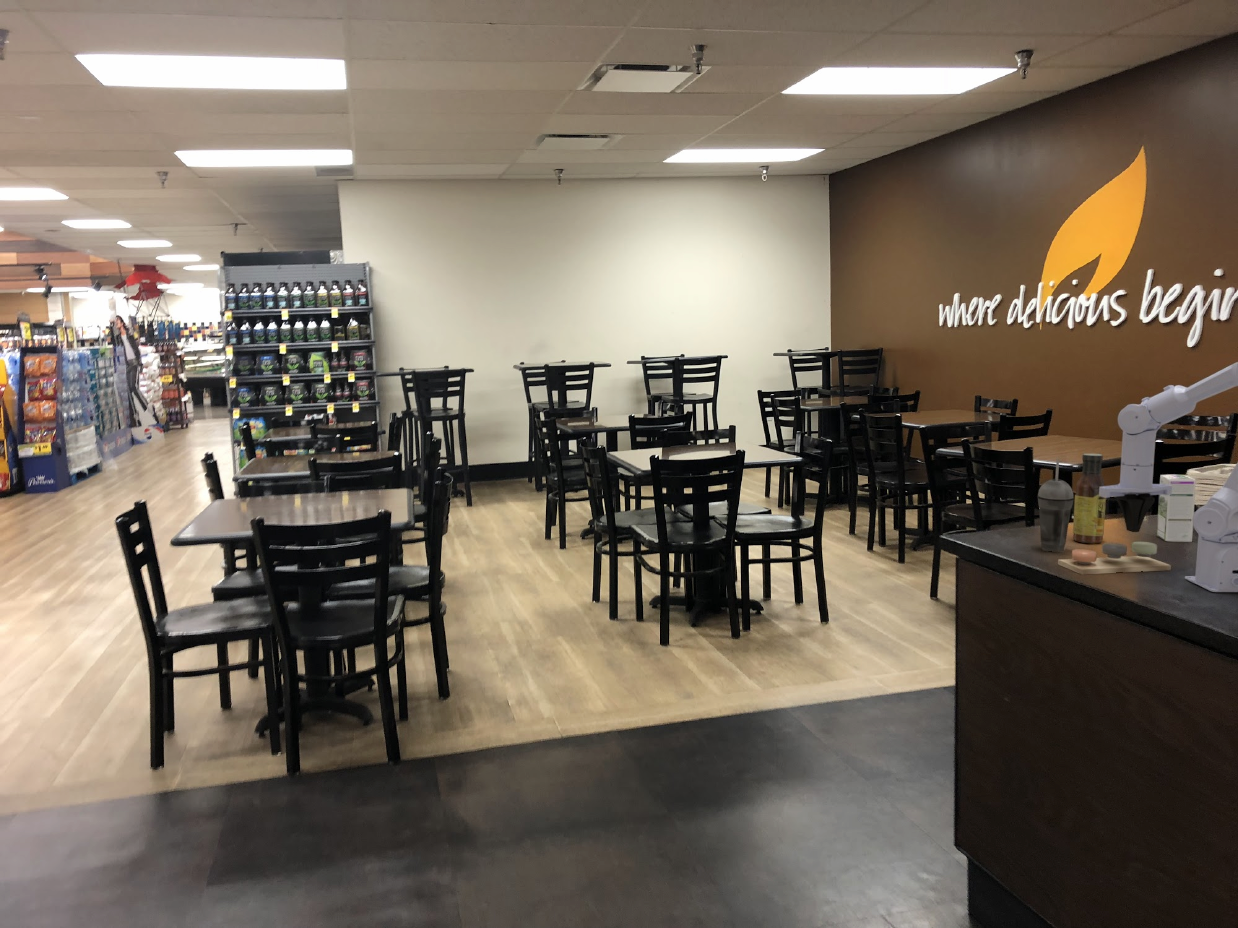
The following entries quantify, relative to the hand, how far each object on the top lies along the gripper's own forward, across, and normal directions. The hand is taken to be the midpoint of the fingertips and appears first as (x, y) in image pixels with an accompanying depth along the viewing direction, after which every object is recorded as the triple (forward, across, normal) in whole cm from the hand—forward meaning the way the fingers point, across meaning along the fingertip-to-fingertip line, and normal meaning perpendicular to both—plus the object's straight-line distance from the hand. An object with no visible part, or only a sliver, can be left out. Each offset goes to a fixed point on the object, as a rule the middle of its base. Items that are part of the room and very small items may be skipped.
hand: (1132, 531), depth 188 cm
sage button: (+5, -3, 0) cm, 6 cm away
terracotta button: (+6, +10, 0) cm, 12 cm away
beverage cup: (+8, +7, -16) cm, 19 cm away
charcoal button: (+5, +4, 0) cm, 6 cm away
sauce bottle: (+8, -6, -22) cm, 24 cm away
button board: (+7, +4, 0) cm, 8 cm away
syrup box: (+8, -26, -20) cm, 33 cm away
